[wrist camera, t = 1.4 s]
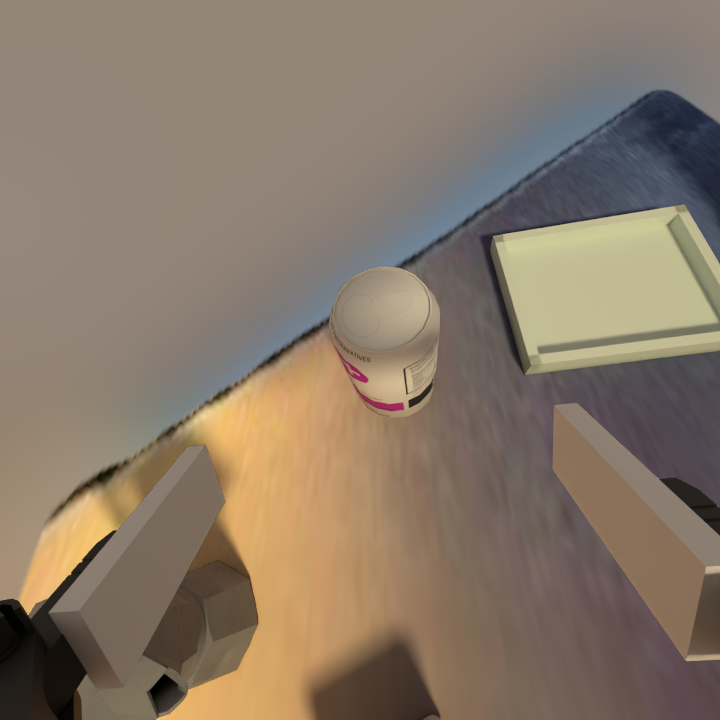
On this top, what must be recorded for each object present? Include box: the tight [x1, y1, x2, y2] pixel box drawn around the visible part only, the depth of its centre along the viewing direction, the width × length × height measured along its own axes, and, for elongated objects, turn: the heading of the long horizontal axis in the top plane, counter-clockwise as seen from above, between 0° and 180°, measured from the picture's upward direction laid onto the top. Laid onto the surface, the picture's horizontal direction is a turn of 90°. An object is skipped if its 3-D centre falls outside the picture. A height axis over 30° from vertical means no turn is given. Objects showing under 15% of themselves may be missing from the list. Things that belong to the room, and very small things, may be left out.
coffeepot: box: [28, 560, 258, 720], centre depth 25 cm, size 15×9×18 cm, turn 88°
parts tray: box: [490, 205, 720, 375], centre depth 39 cm, size 20×16×2 cm
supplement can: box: [329, 266, 440, 418], centre depth 33 cm, size 8×8×15 cm
